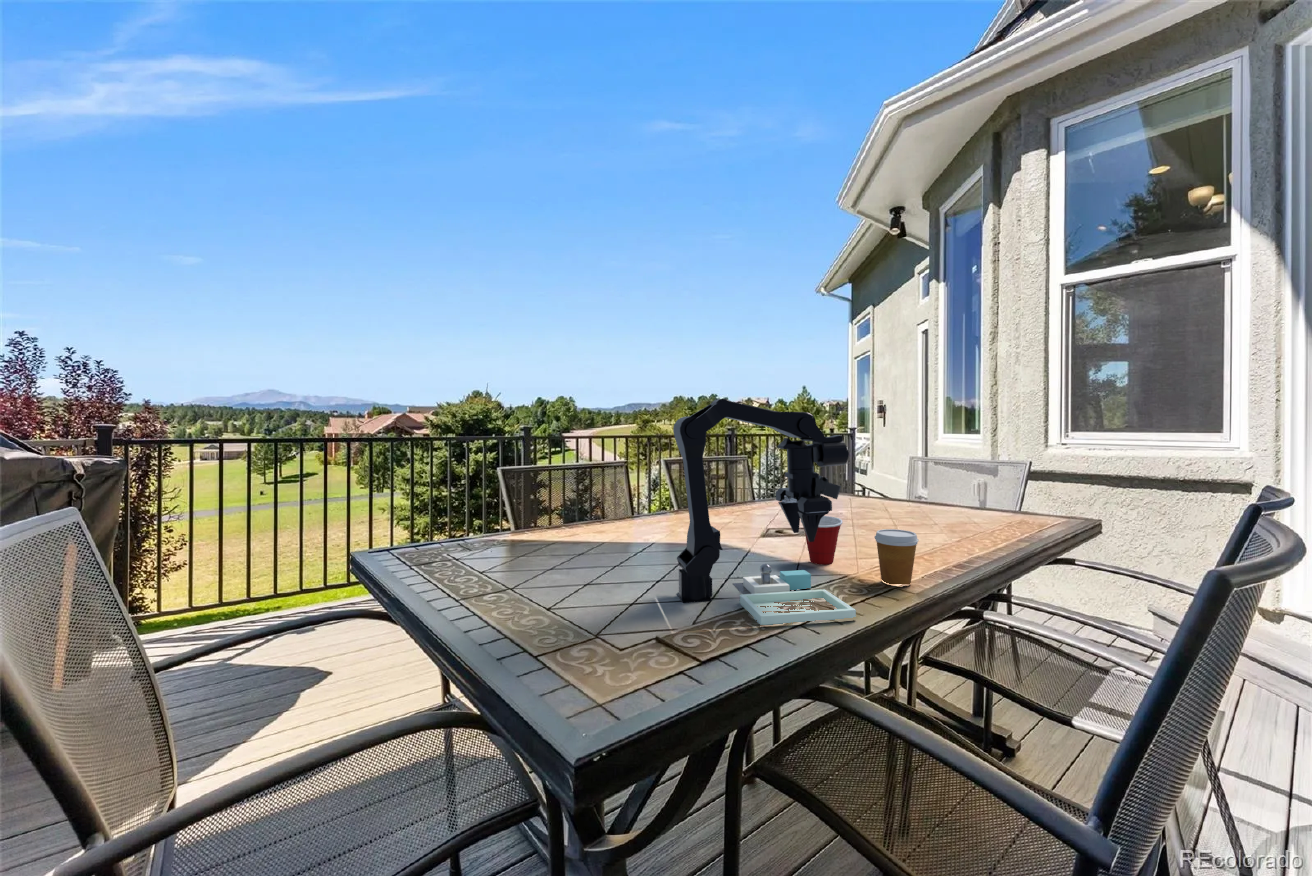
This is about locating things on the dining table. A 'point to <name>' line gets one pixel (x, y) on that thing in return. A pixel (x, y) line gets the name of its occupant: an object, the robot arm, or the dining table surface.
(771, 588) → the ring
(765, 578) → the peg stand
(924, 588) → the dining table surface
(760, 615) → the tray
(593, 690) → the dining table surface
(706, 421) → the robot arm
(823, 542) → the plastic cup
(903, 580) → the disposable coffee cup
